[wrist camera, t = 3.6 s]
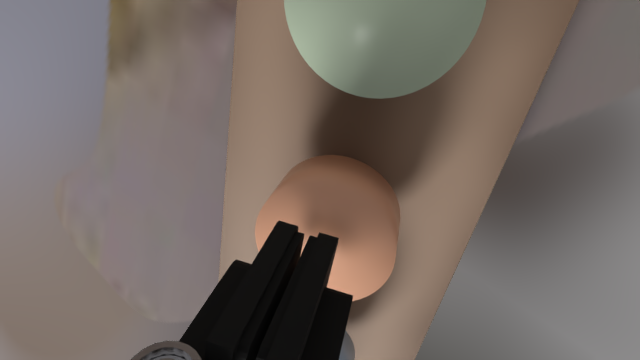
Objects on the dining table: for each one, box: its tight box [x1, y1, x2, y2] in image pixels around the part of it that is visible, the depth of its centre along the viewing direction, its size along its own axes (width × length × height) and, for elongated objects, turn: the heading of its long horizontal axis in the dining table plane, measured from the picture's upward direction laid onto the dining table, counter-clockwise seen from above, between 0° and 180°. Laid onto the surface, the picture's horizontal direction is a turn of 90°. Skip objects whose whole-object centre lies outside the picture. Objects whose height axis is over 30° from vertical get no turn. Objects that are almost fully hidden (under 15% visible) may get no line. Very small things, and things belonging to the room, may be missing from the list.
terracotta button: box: [255, 155, 401, 301], centre depth 13 cm, size 4×4×2 cm
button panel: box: [219, 0, 579, 360], centre depth 17 cm, size 10×22×3 cm, turn 170°
